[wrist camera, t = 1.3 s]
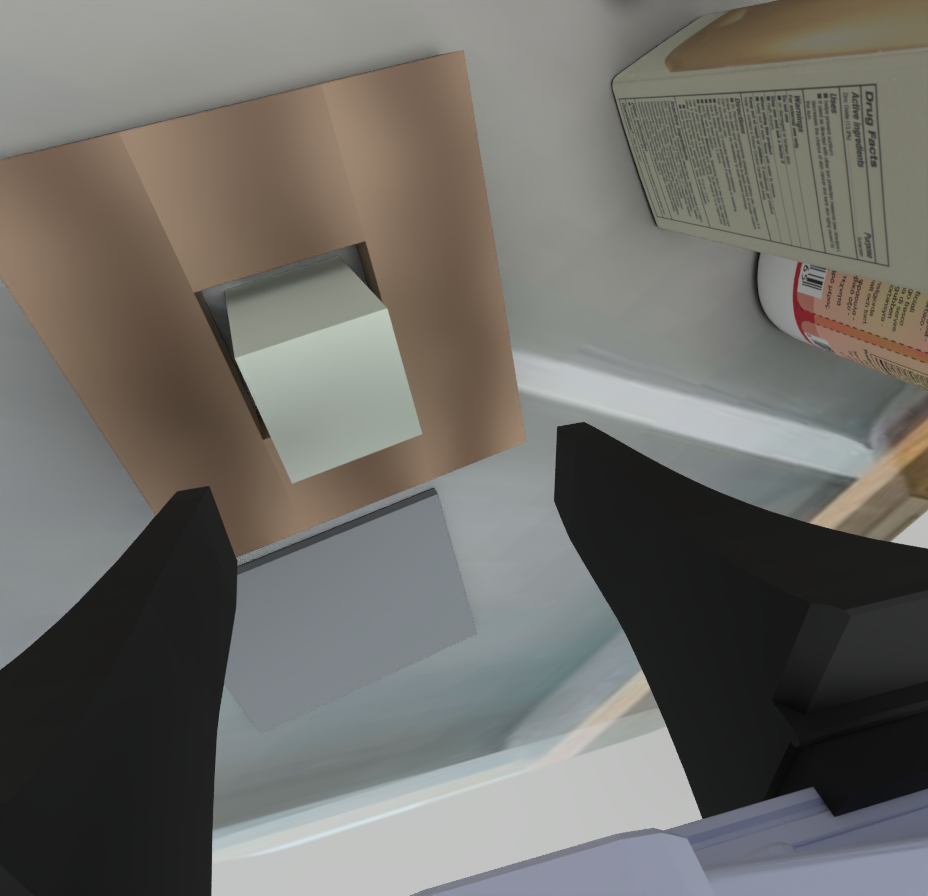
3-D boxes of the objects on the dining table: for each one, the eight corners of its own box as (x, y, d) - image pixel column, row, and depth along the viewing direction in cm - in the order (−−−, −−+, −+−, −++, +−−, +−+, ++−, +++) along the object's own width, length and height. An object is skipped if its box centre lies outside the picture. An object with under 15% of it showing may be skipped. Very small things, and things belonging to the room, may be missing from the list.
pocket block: (194, 542, 24) (194, 574, 22) (-39, 169, 16) (-66, 176, 14) (506, 421, 27) (526, 441, 25) (440, 54, 19) (463, 50, 17)
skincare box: (735, 170, 25) (1090, 216, 15) (653, 231, 25) (955, 316, 15) (702, 1, 21) (1149, -88, 11) (604, 71, 21) (967, 46, 11)
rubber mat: (259, 725, 30) (260, 734, 30) (167, 595, 24) (166, 603, 24) (473, 627, 32) (477, 633, 32) (434, 488, 27) (437, 494, 26)
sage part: (269, 392, 22) (292, 483, 17) (224, 290, 20) (234, 358, 14) (370, 358, 23) (422, 434, 18) (338, 255, 20) (387, 308, 15)
